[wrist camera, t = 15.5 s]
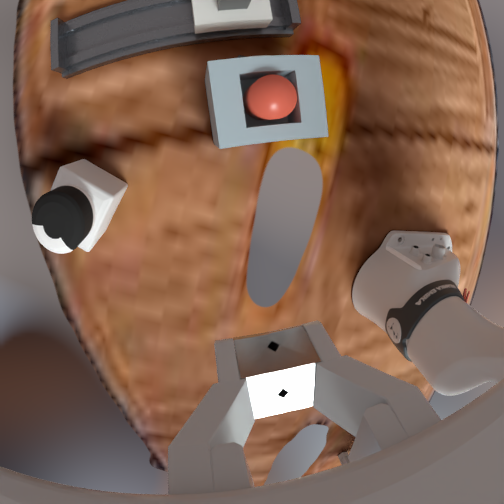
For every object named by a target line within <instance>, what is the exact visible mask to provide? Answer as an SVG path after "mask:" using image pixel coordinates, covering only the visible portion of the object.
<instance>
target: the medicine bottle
mask: <svg viewBox="0 0 504 504" xmlns="http://www.w3.org/2000/svg"><path fill="white" fill-rule="evenodd" d="M127 187H128V185H127V183H125V182H124V181H122V180H120V179H118V178H117V177H115V176H113V175H111V174H110V173H108V172H106V171H105V170H103V169H101V168H99V167H98V166H96V165H94V164H92V163H91V162H89V161H87V160H85V159H82V160H79V161H76V162H73V163H70V164H67V165H64V166H61V167H60V168H59V171H58V173H57V175H56V178H55V180H54V183H53V185H52V188H51V191H49V192H48V193H46V194H44V195H42V196H41V197H40V198H39V199H38V201H37V202H36V204H35V206H34V209H33V213H32V225H33V230H34V232H35V235H36V237H37V239H38V240H39V241H40V243H41V244H42V245H43V246H44V247H45V248H47V249H48V250H50V251H52V252H55V253H62V254H63V253H68V252H71V251H73V250H74V249H75V248H77V247H79V248H81V249H83V250H85V251H86V252H89V251H90V250H91V249H92V247H93V246H94V245H95V244H96V242H97V241H98V240H99V238H100V237H101V236H102V235H103V233H104V232H105V231H106V229H107V227H108V225H109V223H110V221H111V219H112V216H113V214H114V212H115V210H116V208H117V206H118V204H119V202H120V200H121V198H122V196H123V195H124V193H125V191H126V189H127Z"/></svg>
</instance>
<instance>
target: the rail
mask: <svg viewBox="0 0 504 504" xmlns="http://www.w3.org/2000/svg"><path fill="white" fill-rule="evenodd" d="M269 1H270V6H271V12H272V18H273V20H272V21H271V22H270V24H269V25H268V26H267V28H248V29H234V30H223V31H213V32H205V33H198V34H195V30H194V21H193V13H192V4H191V0H127V1H124V2H120V3H117V4H114V5H110V6H107V7H104V8H101V9H98V10H95V11H92V12H90V13H87V14H84V15H82V16H79V17H77V18H74V19H72V20H69V21H67V22H63V21H62V20H61V19H59V18H56V19H54V20H52V21H51V70H53V71H56V72H59V73H62V77H63V78H66V79H68V78H70V77H73V76H75V75H78V74H81V73H83V72H86V71H89V70H92V69H95V68H97V67H100V66H104V65H107V64H110V63H113V62H116V61H120V60H123V59H127V58H131V57H134V56H138V55H142V54H146V53H151V52H155V51H159V50H164V49H169V48H174V47H180V46H185V45H192V44H198V43H205V42H213V41H222V40H232V39H244V38H263V37H290V36H292V35H293V30H294V29H295V28H296V27H297V26H298V25H299V24H301V20H300V14H299V9H298V4H297V0H269Z"/></svg>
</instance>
